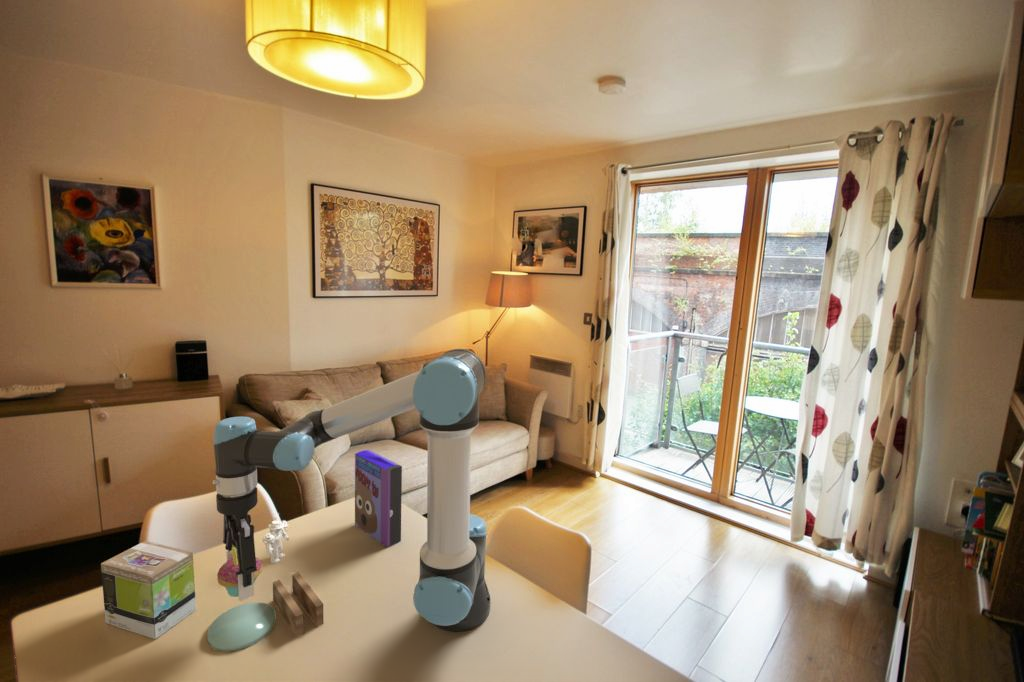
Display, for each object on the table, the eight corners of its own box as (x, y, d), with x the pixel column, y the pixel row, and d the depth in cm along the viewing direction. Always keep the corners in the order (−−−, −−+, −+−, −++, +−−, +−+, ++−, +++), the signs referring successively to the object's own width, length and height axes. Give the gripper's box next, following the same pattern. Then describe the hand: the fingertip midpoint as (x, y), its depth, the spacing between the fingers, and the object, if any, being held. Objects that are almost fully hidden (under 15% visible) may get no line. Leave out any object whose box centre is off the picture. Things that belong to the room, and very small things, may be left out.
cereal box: (354, 525, 145) (354, 453, 142) (368, 519, 149) (368, 449, 145) (387, 547, 134) (388, 470, 131) (400, 541, 138) (401, 465, 134)
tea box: (198, 609, 107) (194, 551, 105) (154, 641, 98) (150, 578, 96) (149, 594, 111) (145, 538, 109) (103, 624, 102) (97, 563, 99)
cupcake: (247, 604, 97) (246, 552, 95) (208, 601, 97) (205, 549, 95) (270, 577, 105) (268, 529, 104) (233, 575, 105) (231, 527, 104)
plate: (283, 629, 102) (283, 624, 102) (216, 662, 93) (215, 657, 93) (264, 598, 111) (264, 594, 111) (201, 625, 102) (201, 621, 102)
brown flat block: (323, 623, 105) (323, 603, 104) (316, 626, 104) (316, 606, 103) (298, 589, 115) (298, 571, 114) (292, 592, 114) (292, 574, 113)
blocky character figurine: (280, 548, 131) (279, 509, 130) (293, 550, 131) (292, 510, 129) (259, 568, 123) (258, 526, 121) (273, 569, 122) (272, 528, 120)
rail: (303, 633, 101) (302, 613, 101) (296, 637, 100) (295, 616, 100) (279, 598, 112) (279, 579, 111) (273, 600, 111) (272, 582, 110)
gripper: (204, 477, 102) (208, 570, 106) (230, 515, 88) (234, 622, 91) (242, 468, 108) (245, 557, 111) (272, 503, 93) (274, 604, 96)
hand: (240, 586), depth 101 cm, fingers closed on cupcake, 8 cm apart
